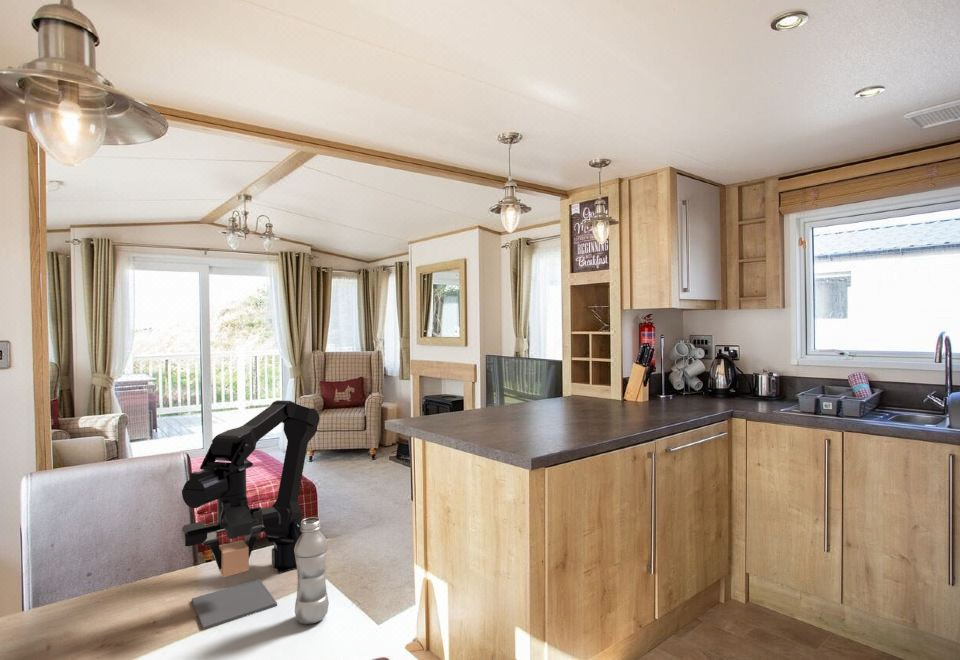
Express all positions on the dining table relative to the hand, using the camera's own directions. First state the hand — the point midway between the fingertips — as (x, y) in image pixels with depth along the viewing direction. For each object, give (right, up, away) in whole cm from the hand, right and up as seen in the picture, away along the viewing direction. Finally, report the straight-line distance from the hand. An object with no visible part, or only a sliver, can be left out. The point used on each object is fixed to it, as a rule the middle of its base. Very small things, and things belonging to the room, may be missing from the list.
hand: (233, 564), depth 112 cm
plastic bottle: (+19, -8, -7) cm, 22 cm away
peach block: (0, -1, 0) cm, 1 cm away
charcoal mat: (0, -8, 0) cm, 8 cm away
